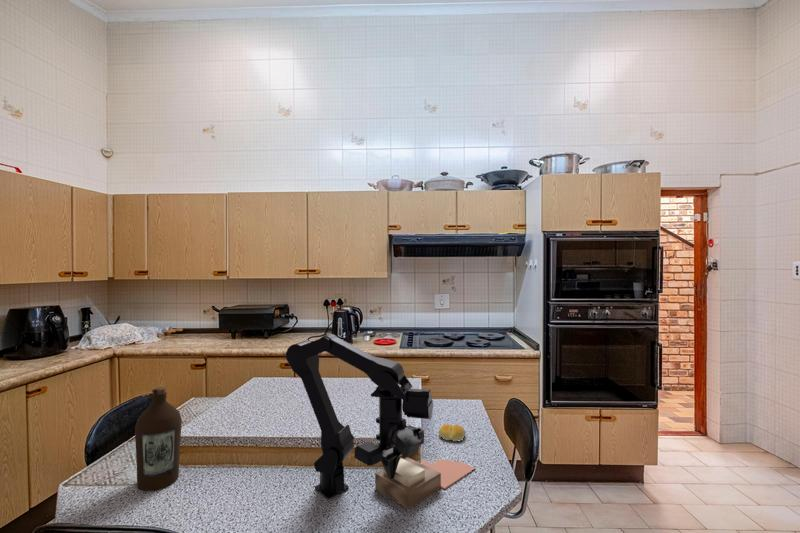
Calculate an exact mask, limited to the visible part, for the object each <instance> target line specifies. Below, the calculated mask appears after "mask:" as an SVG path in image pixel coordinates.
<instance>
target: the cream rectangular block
mask: <svg viewBox="0 0 800 533" xmlns="http://www.w3.org/2000/svg"><path fill="white" fill-rule="evenodd" d="M404 459H405V458H402V457H401V458H400V460H399V463H398V466H397V469H396V472H395V476H394V478H393V479H395V480H397V481H398V482H400V483H402V484H404V485H406V486H407V487H410V486H411V485H413V484H415V483H416V482H418V481H420V480H422V479H423V478H425V469H423V468H421V467H419V466H417V465H415V464H412V463H410V462H408V461H406V460H404ZM382 470H383V473H384V474H386V475H387V473H386V471H385V469H384V467H383V468H382Z"/></svg>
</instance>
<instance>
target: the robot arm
mask: <svg viewBox="0 0 800 533" xmlns="http://www.w3.org/2000/svg"><path fill="white" fill-rule="evenodd" d="M324 352H326V353H327V354H329V355H332V356H333V357H335V358H336V359H338V360H340V361H342V362H344V363H346V364H347V365H350V366H352V367H353V368H355V369H358V370H360V371H362V372H363V373H364V374H365V375H367V377H368V379H369V380H370V381H371V382H372V383H374V385H376V386H377V387H376V388H375V390H374V391H373V392H372V393H370V397H372V398H378V407H379V409H378V412H379V413H378V414H379V415H378V416H379V417H375V423H377V424H378V428H379V429H378V431H379V433H378V434H376V435H375V439H376V440H377V441H379V442H378V443H377V444H375V443H374V442H373V443H372V442H370V441H366V442H364V443H361V444H359V445H357V446H356V447H354V446H355V443H354V439H355V437H354V435H353V434H352V431H351V427H350V424H346V425H343V424H342V423H341V422H340V421H339V419H338V417H337V416H338V415H337V414H336V412H335V409H334V406H333V404H332V401H331V399H330V396H329V394H328V391H327V389H326V385H325V384H324V381H323V379H322V376H321V373H320V355H319V354H322V353H324ZM285 359H286V361H287V364H288V365H289V367H290V369H291V370H292V372H293V373H295V374H296V375H297V376H298V377H299V378H300V379H301V382H302V384H303V386H304V389H305V393H306V395H307V397H308V400H309V402H310V405H311V407H312V410H313V413H314V415H315V418H316V421H317V424H318V426H319V429H320V447H321V448H320V449H321V453H322V454H321V456H320V457H319V458H317V459H316V460H315V461H314V463H313V465H314V466H313V467H314V469H315V472H316V473H319V484H317V485H314V489H315V491H317V492H319V493H320V494H321V495H323V497H325V498H326V499H331V498H333V497H335V496H337V495H339V494H341V493H343V492H345V491H347V490H348V489H349V487H350V486H349V485H348V484H346V483H345V473H344V472H345V466H344V464H343V462H344V460H346V459H347V457H348V456H349V455H350V454H351V452H352V451H353V450H354V459H356V460H358V461H360V462H361V463H363V464H364V465H366V466H371V467H372V466H374V465H376V464H378V463H380V462H381V465H382V466H383V467H384V469H385V471H386V473H387V475H388V478H389V479H393V478H394V476H395V472H396V469H397V466H398V463H399V460H400V458H402V456H403V457H404V458H407V457H408V458H410V456H412V455H413V454H417V453H418V451H419V449H420V446H421V445H424V444H425V432H424V428H422V427H421V426H417V427H414V426H412V425H407V422H408V421H407V419H406V418H404V417H403V415H404V416H406V417H407V418H414V419H422V420H431V419H432V415H433V412H434V411H433V409H434V400H433V396H432V394H431V389H429V388H422V389H421V388H413V384H412V383H411V382H410V380H409V378H408V377H407V376H406V375H405V371H404V367H403V366H402V364H400V363H399V362H397V361H396V360H395V361H394V360H391V359H388V358H385V357H384V358H383V357H377V356H374V355H372V354H370V353H369V352H366V351H365V350H362V349H361V348H358V347H357V346H354V345H352V344H351V343H349V342H348V341H345V340H343V339H341V338H339V337H338V336H337V335H335V334H334V333H330V334H326V335H323V336H321V337H320V338H318V339H316V340H315V339H314V340H313V341H311V340H303V341H299V342H296V343H294V344H291V345H290V346H288V347H287V349H286V352H285Z"/></svg>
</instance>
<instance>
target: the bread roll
mask: <svg viewBox="0 0 800 533" xmlns="http://www.w3.org/2000/svg"><path fill="white" fill-rule="evenodd" d="M466 432H467V431H466V430H465V429H464V428H463V427H462V426H461V425H458V424H455V425H451V424H448V423H447V424H446V423H445V424H443V425H441V426H440V428H439V429H438V436H439V435H440V436H439V438H441V437H442V438H444V439H447V440H454V441H458V440H462V439H463V438H464V436H465V437H466V434H467V433H466ZM442 438H441V439H442ZM464 439H465V438H464ZM462 441H463V440H462Z"/></svg>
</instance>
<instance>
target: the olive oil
mask: <svg viewBox="0 0 800 533" xmlns="http://www.w3.org/2000/svg"><path fill="white" fill-rule="evenodd" d="M151 391H152V392H151V393H152V394H151V403H150V404H149V406H148V407H147V408H146V409H145V410H144V411H143V412H142V413H141V414H140V415H139V417H138V418H137V421H136V423H135V426H134V439H135V440H134V441H135V442H134V443H135V459H136V463H135V464H136V486H137V487H136V488H137V489H138V490H139V491H141V492H155V491H160V490H162V489H165V488H167V487H169V486H171V485H173V484H174V483H175V482H177V480H178V479H179V476H180V473H179V471H180V452H181V436H182V423H183V422H182V415H181V412H180V411H179V410H178V409H177V408H176V407H174V406H173V405H172V404H171V403H169V402H168V401H167V387H166V386H157V387H154V388H152V389H151Z"/></svg>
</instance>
